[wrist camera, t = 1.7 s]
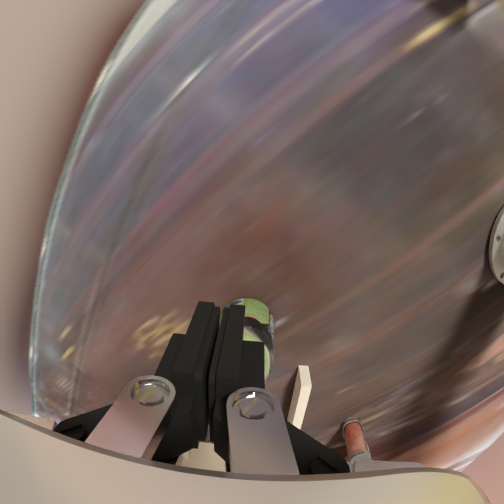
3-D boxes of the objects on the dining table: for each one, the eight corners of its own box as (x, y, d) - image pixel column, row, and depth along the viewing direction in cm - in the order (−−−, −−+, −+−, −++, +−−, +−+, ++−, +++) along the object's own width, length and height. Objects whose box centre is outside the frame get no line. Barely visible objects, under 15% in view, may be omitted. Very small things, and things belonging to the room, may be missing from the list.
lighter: (364, 441, 42) (376, 488, 33) (345, 447, 43) (354, 494, 33) (360, 414, 40) (375, 465, 30) (339, 420, 40) (350, 472, 31)
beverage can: (235, 346, 36) (224, 420, 25) (206, 296, 34) (180, 362, 23) (284, 328, 35) (290, 402, 24) (257, 275, 33) (253, 338, 22)
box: (308, 365, 37) (315, 410, 29) (286, 452, 43) (287, 491, 35) (177, 354, 37) (160, 397, 30) (186, 443, 43) (177, 481, 36)
